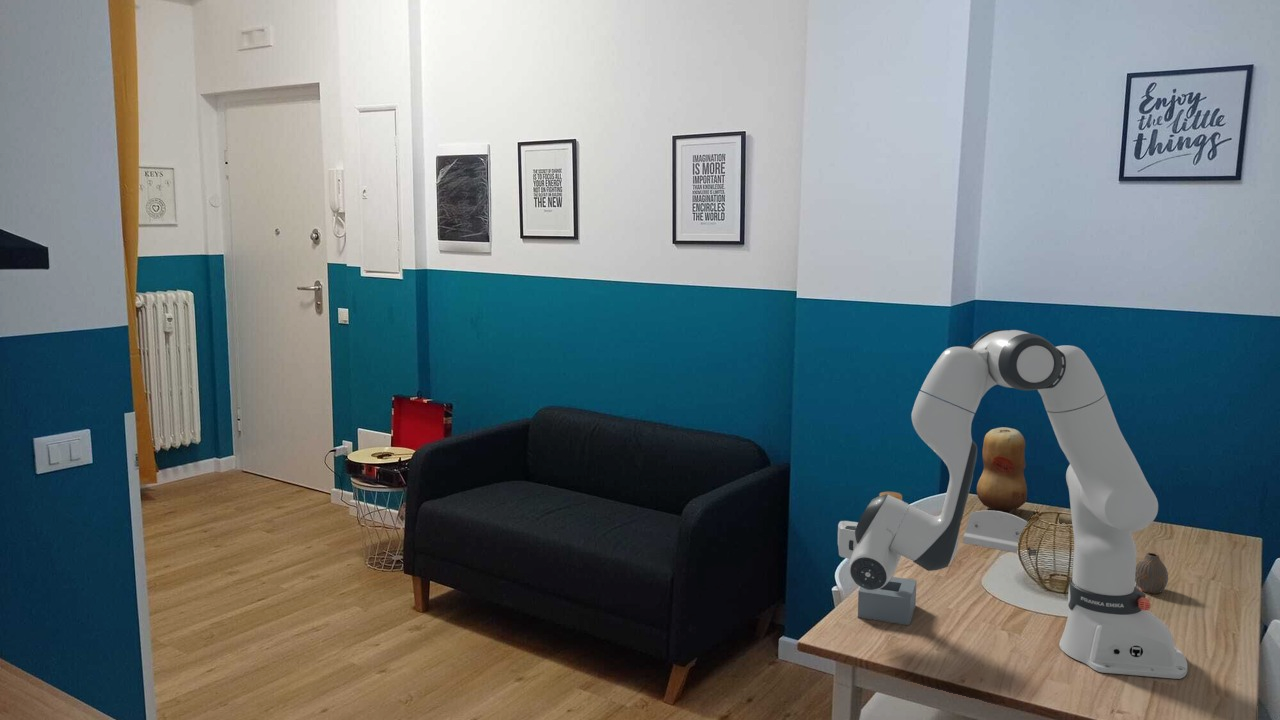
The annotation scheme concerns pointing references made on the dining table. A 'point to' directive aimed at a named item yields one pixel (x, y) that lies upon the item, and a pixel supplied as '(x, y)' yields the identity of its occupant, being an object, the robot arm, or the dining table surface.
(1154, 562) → the vase
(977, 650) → the dining table surface
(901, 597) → the hitch block
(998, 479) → the butternut squash
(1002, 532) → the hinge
